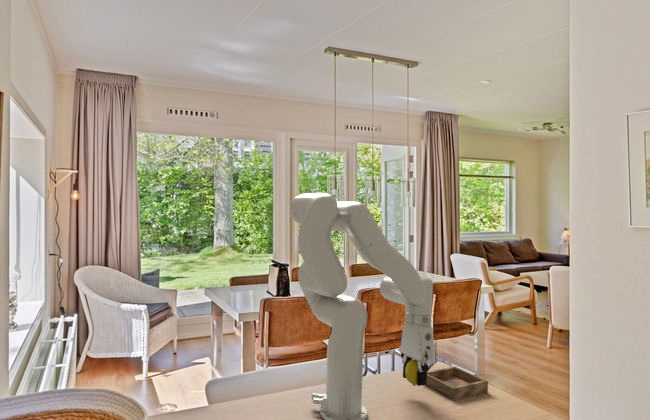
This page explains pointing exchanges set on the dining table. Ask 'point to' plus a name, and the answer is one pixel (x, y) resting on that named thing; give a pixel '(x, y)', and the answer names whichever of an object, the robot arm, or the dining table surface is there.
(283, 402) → the dining table surface
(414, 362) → the lemon
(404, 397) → the dining table surface
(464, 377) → the bin
